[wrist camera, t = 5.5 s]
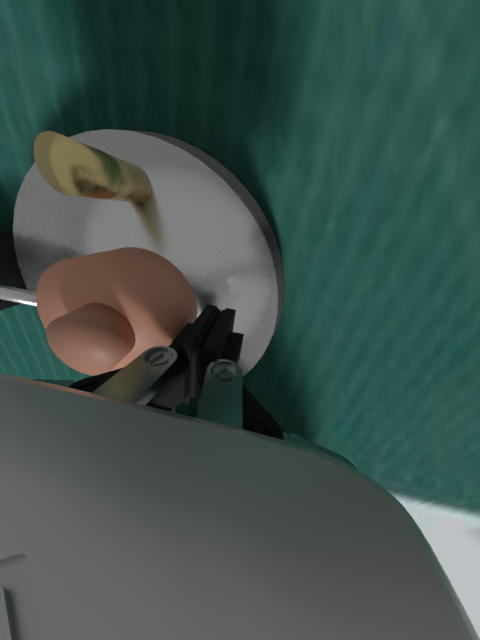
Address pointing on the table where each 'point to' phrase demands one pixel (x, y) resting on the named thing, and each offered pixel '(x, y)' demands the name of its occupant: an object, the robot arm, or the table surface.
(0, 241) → the metal lever
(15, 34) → the table surface
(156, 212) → the disc
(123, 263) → the cover
